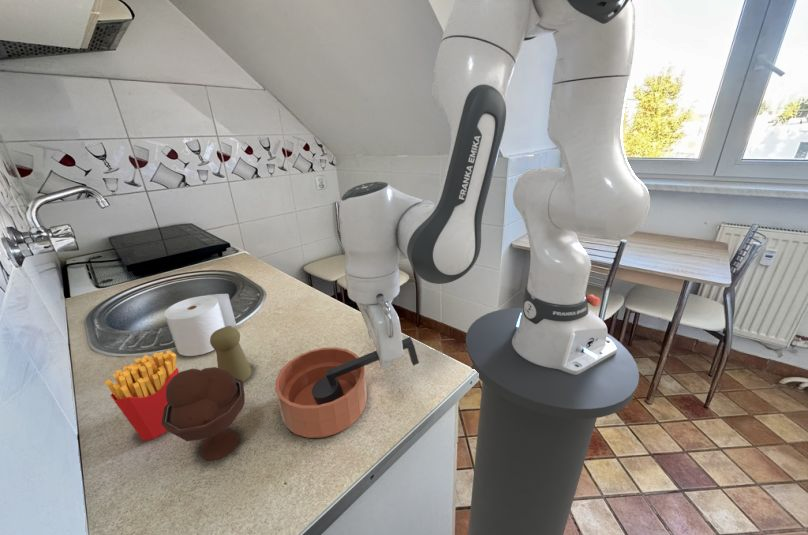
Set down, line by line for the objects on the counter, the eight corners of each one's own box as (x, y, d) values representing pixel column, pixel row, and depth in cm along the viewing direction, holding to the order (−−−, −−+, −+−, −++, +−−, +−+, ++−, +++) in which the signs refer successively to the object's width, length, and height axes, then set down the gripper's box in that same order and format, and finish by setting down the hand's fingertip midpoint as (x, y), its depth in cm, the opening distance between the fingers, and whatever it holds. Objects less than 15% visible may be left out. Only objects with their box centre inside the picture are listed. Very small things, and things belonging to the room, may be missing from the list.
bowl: (358, 368, 68) (355, 340, 65) (375, 425, 55) (372, 393, 52) (283, 385, 64) (276, 357, 61) (281, 452, 51) (273, 419, 48)
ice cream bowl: (213, 490, 45) (182, 410, 39) (165, 460, 50) (130, 384, 44) (271, 431, 54) (252, 359, 48) (225, 409, 59) (203, 341, 53)
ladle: (318, 414, 56) (306, 391, 54) (316, 394, 61) (305, 372, 58) (422, 369, 60) (416, 346, 58) (413, 353, 65) (407, 331, 62)
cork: (249, 382, 65) (236, 337, 61) (216, 388, 63) (201, 342, 59) (253, 363, 70) (242, 320, 66) (223, 369, 69) (210, 325, 65)
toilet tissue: (166, 356, 73) (151, 318, 69) (200, 326, 84) (190, 292, 80) (210, 357, 72) (198, 319, 69) (239, 327, 83) (230, 293, 80)
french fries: (138, 448, 52) (107, 386, 47) (129, 435, 54) (99, 374, 49) (199, 411, 58) (177, 352, 53) (188, 400, 61) (167, 344, 56)
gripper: (411, 308, 46) (414, 384, 51) (377, 259, 64) (381, 319, 69) (368, 317, 44) (375, 394, 49) (345, 264, 62) (352, 325, 67)
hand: (379, 350), depth 59 cm, fingers open, 8 cm apart
